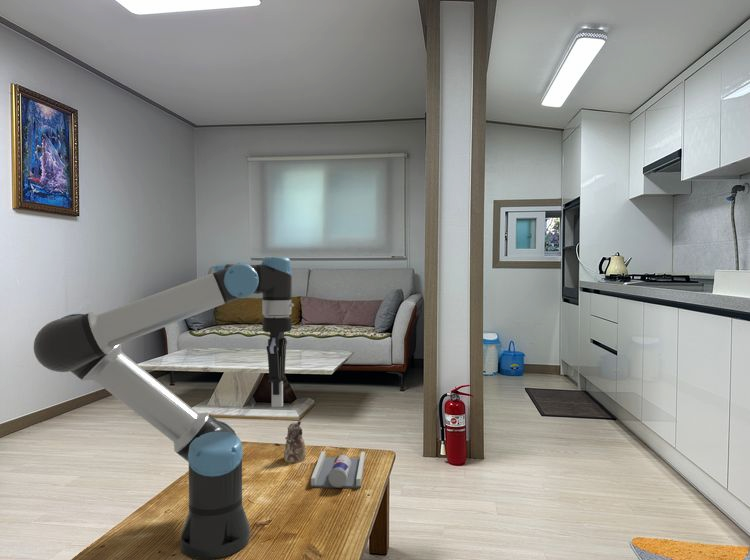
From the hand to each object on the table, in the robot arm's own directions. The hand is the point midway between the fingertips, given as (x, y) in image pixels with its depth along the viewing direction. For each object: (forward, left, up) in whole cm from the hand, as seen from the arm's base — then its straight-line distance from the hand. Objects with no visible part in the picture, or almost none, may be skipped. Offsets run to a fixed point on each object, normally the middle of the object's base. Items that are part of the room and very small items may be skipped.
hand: (277, 406), depth 133 cm
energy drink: (+10, -15, -23) cm, 29 cm away
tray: (+23, -14, -26) cm, 38 cm away
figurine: (+34, +2, -27) cm, 43 cm away
